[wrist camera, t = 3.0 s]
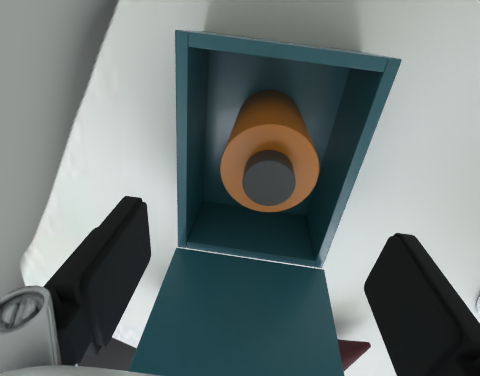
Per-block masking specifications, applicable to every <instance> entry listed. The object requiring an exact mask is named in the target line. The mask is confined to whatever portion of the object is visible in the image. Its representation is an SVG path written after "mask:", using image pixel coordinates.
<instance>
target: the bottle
mask: <svg viewBox="0 0 480 376" xmlns="http://www.w3.org/2000/svg"><path fill="white" fill-rule="evenodd" d="M220 172H221V178H222V181H223V184H224V186H225V188H226V190H227V191H228V193H229V194H230V195H231V196H232V197H233V198H234V199H235V200H236V201H237V202H238V203H240V204H241V205H243V206H245V207H247V208H250V209H252V210H256V211H261V212H278V211H283V210H286V209H289V208H291V207H294V206H295V205H297V204H299V203H300V202H301V201H303V200H304V199H305V198H306V197H307V196H308V195H309V194H310V193H311V191H312V190H313V188H314V186H315V184H316V182H317V179H318V174H319V161H318V156H317V153H316V151H315V148H314V146H313V143H312V141H311V138H310V136H309V133H308V131H307V129H306V126H305V124H304V121H303V119H302V116H301V114H300V111H299V109H298V107H297V105H296V103H295V102H294V101H293V100H292V99H291V98H290V97H289V96H288V95H286V94H285V93H282V92H280V91H276V90H263V91H260V92H257V93H255V94H253V95H251V96H250V97H249V98H248V99H247V100H246V101H245V102H244V103H243V105H242V106H241V108H240V110H239V113H238V116H237V118H236V121H235V123H234V126H233V129H232V131H231V134H230V137H229V139H228V142H227V145H226V147H225V150H224V153H223V155H222V159H221V165H220Z"/></svg>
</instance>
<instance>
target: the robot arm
mask: <svg viewBox="0 0 480 376" xmlns="http://www.w3.org/2000/svg"><path fill="white" fill-rule="evenodd" d="M150 257H151V247H150V236H149V225H148V214H147V204H146V203H145V202H142V199H141V198H137V197H130V196H125V197H124V198H123V199H122V200H121V201H120V202H119V203H118V205H117V206H116V207H115V208H114V209H113V210H112V212H111V213H110V214H109V215H108V216H107V217H106V219H105V220H104V221H103V222H102V223H101V225H100V226H99V227H97V228H95V229H93V230H92V231H91V232H90V234H89V235H88V236H87V237H86V238H85V239H84V240H83V242H82V243H81V244H80V245H79V246H78V247H77V249H76V250H75V251H74V252H73V253H72V254H71V256H70V257H69V258H68V259H67V260H66V261H65V262H64V264H63V265H62V266H61V267H60V268H59V269H58V271H57V272H56V273H55V274H54V275H53V276H52V277H51V279H50V280H49V281H48V282H47V283H46V284H45V286H44V287H40V286H26V287H22V288H18V289H16V290H14V291H11V292H9V293H7V294H5V295H4V296H2V297H1V298H0V376H160V375H153V374H145V373H137V372H129V371H120V370H112V369H103V368H95V367H81V366H77V364H78V363H79V362H80V361H81V360H82V358H83V356H84V354H88V355H94V356H97V355H98V353H99V351H100V349H101V347H102V346H106V345H107V344H108V343H109V341H110V339H111V337H112V335H113V333H114V331H115V329H116V327H117V325H118V323H119V321H120V319H121V317H122V315H123V313H124V311H125V309H126V307H127V305H128V303H129V301H130V299H131V297H132V295H133V293H134V291H135V289H136V287H137V285H138V283H139V281H140V279H141V277H142V275H143V273H144V271H145V269H146V267H147V265H148V263H149V261H150ZM364 291H365V294H366V297H367V299H368V302H369V304H370V307H371V310H372V312H373V315H374V317H375V320H376V323H377V325H378V328H379V330H380V333H381V336H382V338H383V341H384V343H385V346H386V349H387V351H388V354H389V356H390V359H391V361H392V364H393V367H394V369H395V372H396V374H397V376H480V323H479V322H478V321H477V319H476V318H475V317H474V315H473V314H472V312H471V311H470V310H469V308H468V307H467V306H466V304H465V303H464V302H463V300H462V299H461V298H460V296H459V295H458V294H457V292H456V291H455V289H454V288H453V287H452V285H451V284H450V283H449V281H448V280H447V279H446V277H445V276H444V275H443V273H442V272H441V270H440V269H439V268H438V266H437V265H436V264H435V262H434V261H433V260H432V258H431V257H430V256H429V254H428V253H427V252H426V250H425V249H424V247H423V246H422V245H421V243H420V242H419V241H418V239H417V238H416V237H415V236H413V235H408V234H400V233H396V234H395V235H394V236H391V237H389V239H388V240H387V242H386V244H385V246H384V248H383V250H382V252H381V254H380V255H379V257H378V259H377V261H376V263H375V265H374V267H373V269H372V270H371V272H370V274H369V276H368V278H367V280H366V282H365V285H364ZM477 311H478V313H479V315H480V296H479V298H478V301H477Z"/></svg>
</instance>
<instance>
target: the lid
mask: <svg viewBox="0 0 480 376" xmlns="http://www.w3.org/2000/svg"><path fill="white" fill-rule="evenodd" d="M128 371H129V372H137V373H145V374H153V375H160V376H344V372H343V367H342V361H341V356H340V351H339V346H338V340H337V335H336V330H335V325H334V320H333V314H332V309H331V304H330V299H329V293H328V288H327V283H326V278H325V273H324V270H322V269H315V268H308V267H302V266H295V265H288V264H282V263H275V262H268V261H261V260H255V259H248V258H241V257H235V256H228V255H221V254H214V253H208V252H201V251H194V250H188V249H181V248H176V250H175V253H174V255H173V258H172V260H171V263H170V265H169V268H168V270H167V273H166V275H165V278H164V281H163V283H162V286H161V288H160V291H159V293H158V296H157V298H156V301H155V304H154V306H153V309H152V311H151V314H150V316H149V319H148V321H147V324H146V326H145V329H144V332H143V334H142V337H141V339H140V342H139V344H138V347H137V350H136V352H135V355H134V358H133V360H132V362H131V365H130V367H129V370H128Z"/></svg>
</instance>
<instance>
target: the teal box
mask: <svg viewBox="0 0 480 376" xmlns="http://www.w3.org/2000/svg"><path fill="white" fill-rule="evenodd" d="M175 54H176V129H177V205H178V247H183V248H186V247H187V248H190V249H197V250H204V251H211V252H217V253H224V254H231V255H237V256H244V257H251V258H258V259H264V260H271V261H278V262H284V263H291V264H298V265H305V266H311V267H313V266H314V267H318V268H322V266H323V264H324V261H325V259H326V256H327V253H328V251H329V248H330V246H331V243H332V240H333V238H334V235H335V233H336V230H337V227H338V225H339V222H340V220H341V217H342V214H343V212H344V209H345V207H346V204H347V201H348V199H349V196H350V193H351V191H352V188H353V186H354V183H355V180H356V178H357V175H358V173H359V170H360V167H361V165H362V162H363V160H364V157H365V154H366V152H367V149H368V147H369V144H370V141H371V139H372V136H373V134H374V131H375V128H376V126H377V123H378V121H379V118H380V115H381V113H382V110H383V108H384V105H385V102H386V100H387V97H388V95H389V92H390V89H391V87H392V84H393V81H394V79H395V76H396V74H397V71H398V68H399V66H400V63H401V59H396V58H391V57H386V56H380V55H375V54H370V53H364V52H358V51H350V50H343V49H335V48H327V47H319V46H312V45H304V44H296V43H288V42H281V41H273V40H265V39H257V38H250V37H242V36H234V35H227V34H219V33H211V32H203V31H183V30H175ZM263 90H276V91H280V92H282V93H285V94H286V95H288V96H289V97H290V98H291V99H292V100H293V101H294V102H295V103H296V105H297V107H298V109H299V111H300V114H301V116H302V119H303V121H304V124H305V126H306V129H307V131H308V133H309V136H310V138H311V141H312V143H313V146H314V148H315V151H316V153H317V156H318V161H319V174H318V179H317V182H316V184H315V186H314V188H313V190H312V191H311V193H310V194H309V195H308V196H307V197H306V198H305V199H304V200H303V201H301V202H300V203H299V204H297V205H295V206H294V207H291V208H289V209H286V210H283V211H278V212H261V211H256V210H252V209H250V208H247V207H245V206H243V205H241V204H240V203H238V202H237V201H236V200H235V199H234V198H233V197H232V196H231V195H230V194H229V193H228V191H227V190H226V188H225V186H224V184H223V181H222V178H221V172H220V165H221V159H222V155H223V153H224V150H225V147H226V145H227V142H228V139H229V137H230V134H231V131H232V129H233V126H234V123H235V121H236V118H237V116H238V113H239V110H240V108H241V106H242V105H243V103H244V102H245V101H246V100H247V99H248V98H249V97H250V96H251V95H253V94H255V93H257V92H260V91H263Z"/></svg>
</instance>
